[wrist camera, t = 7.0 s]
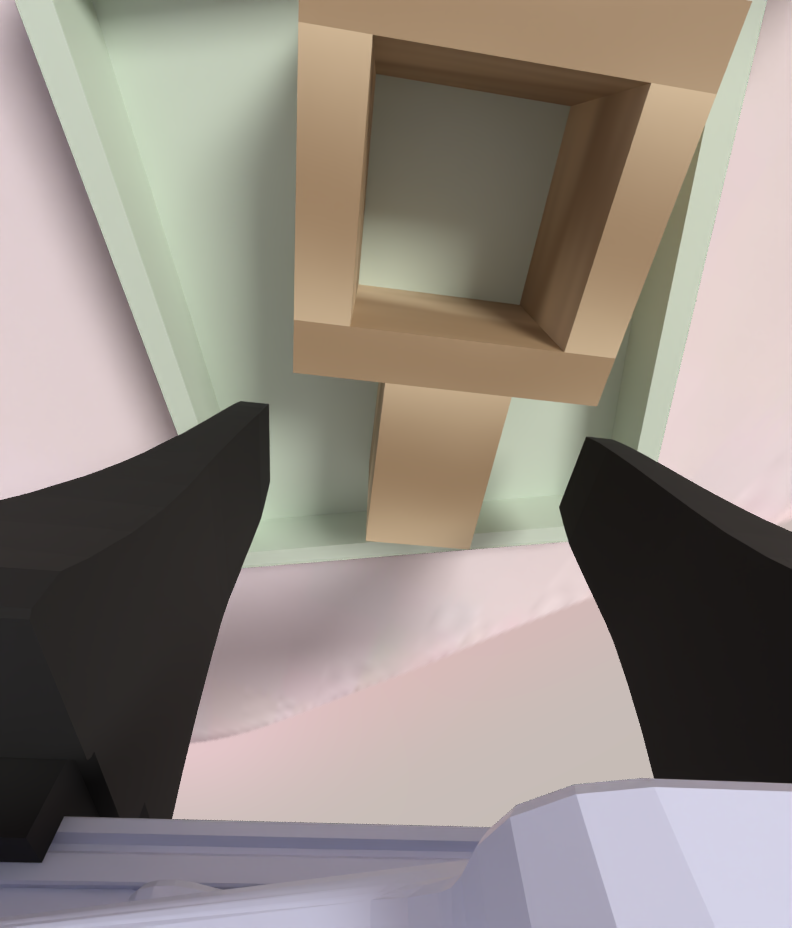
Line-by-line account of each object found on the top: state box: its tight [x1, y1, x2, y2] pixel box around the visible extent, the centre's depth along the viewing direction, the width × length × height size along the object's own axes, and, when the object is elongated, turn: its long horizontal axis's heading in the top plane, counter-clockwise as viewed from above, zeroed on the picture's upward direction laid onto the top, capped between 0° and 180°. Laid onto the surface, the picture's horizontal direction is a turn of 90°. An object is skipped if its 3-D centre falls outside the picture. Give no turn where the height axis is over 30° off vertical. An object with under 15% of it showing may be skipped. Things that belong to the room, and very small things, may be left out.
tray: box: [15, 0, 767, 568], centre depth 11 cm, size 12×14×2 cm
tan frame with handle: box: [293, 0, 752, 550], centre depth 10 cm, size 10×6×4 cm, turn 173°
